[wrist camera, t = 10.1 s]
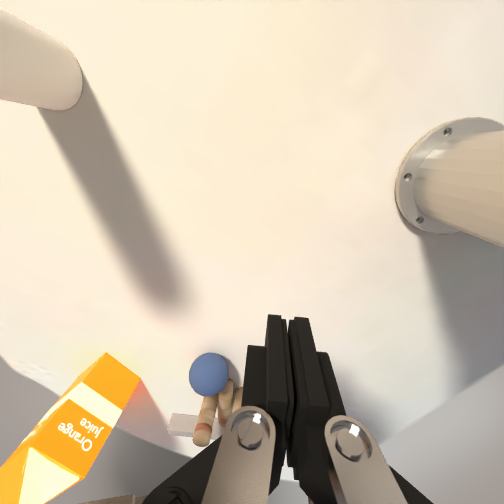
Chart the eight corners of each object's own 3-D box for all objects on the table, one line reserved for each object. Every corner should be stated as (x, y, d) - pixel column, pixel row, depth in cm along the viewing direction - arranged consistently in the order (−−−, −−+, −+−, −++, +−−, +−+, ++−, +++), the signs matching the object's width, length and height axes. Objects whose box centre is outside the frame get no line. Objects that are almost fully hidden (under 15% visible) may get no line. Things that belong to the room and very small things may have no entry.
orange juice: (141, 378, 44) (49, 542, 26) (112, 401, 47) (9, 565, 28) (105, 351, 42) (-23, 506, 24) (77, 376, 45) (-59, 533, 26)
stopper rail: (280, 424, 46) (281, 442, 43) (280, 429, 47) (280, 446, 44) (172, 413, 47) (166, 429, 44) (173, 417, 47) (167, 434, 44)
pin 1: (220, 384, 43) (209, 436, 36) (220, 395, 44) (209, 447, 36) (206, 383, 44) (192, 434, 36) (205, 393, 44) (192, 446, 37)
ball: (224, 397, 40) (241, 363, 40) (205, 411, 35) (225, 371, 35) (196, 375, 42) (212, 343, 43) (174, 385, 37) (192, 348, 37)
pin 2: (249, 387, 43) (244, 440, 35) (248, 398, 44) (244, 451, 36) (234, 386, 43) (227, 438, 35) (234, 396, 44) (226, 449, 36)
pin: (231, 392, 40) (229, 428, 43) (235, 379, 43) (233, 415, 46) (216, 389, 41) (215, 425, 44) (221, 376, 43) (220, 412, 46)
